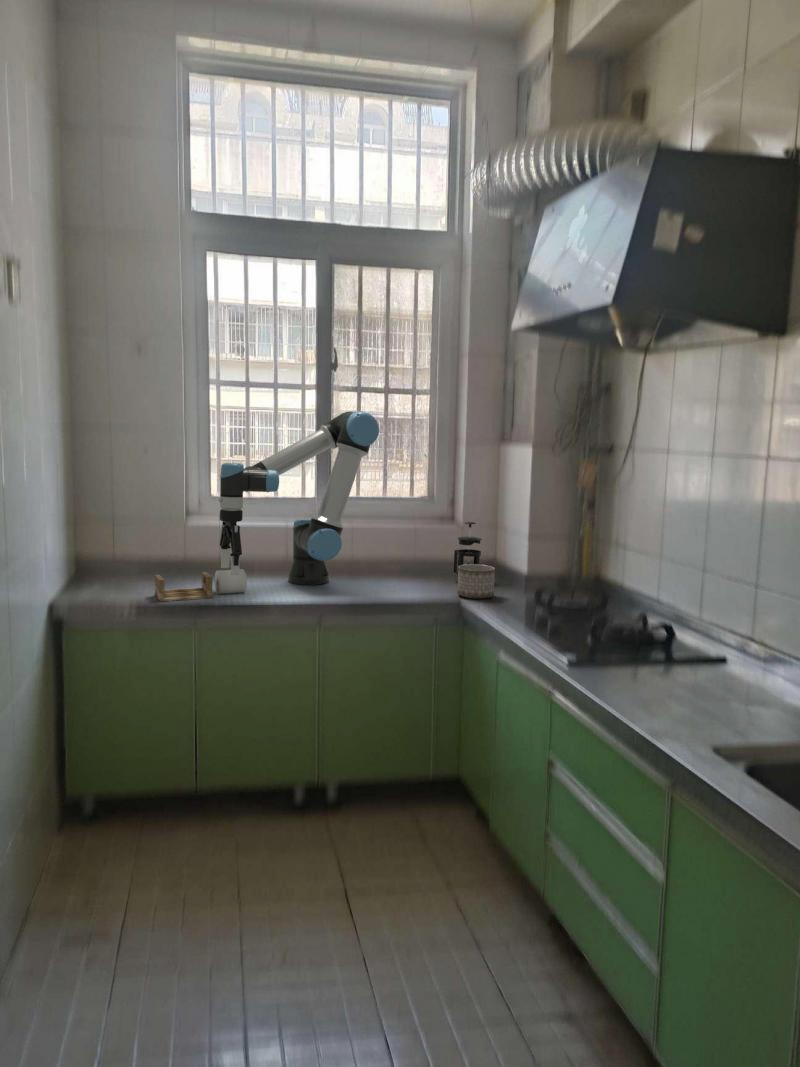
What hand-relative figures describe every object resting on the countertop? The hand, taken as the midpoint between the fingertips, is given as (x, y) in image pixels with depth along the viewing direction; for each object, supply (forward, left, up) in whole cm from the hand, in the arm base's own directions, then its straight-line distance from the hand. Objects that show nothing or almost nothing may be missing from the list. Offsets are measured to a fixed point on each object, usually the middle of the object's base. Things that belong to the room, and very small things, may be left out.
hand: (230, 571), depth 279 cm
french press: (-88, +8, -8) cm, 89 cm away
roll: (0, 0, -8) cm, 8 cm away
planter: (-78, +31, -8) cm, 85 cm away
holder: (+16, 0, -8) cm, 17 cm away
